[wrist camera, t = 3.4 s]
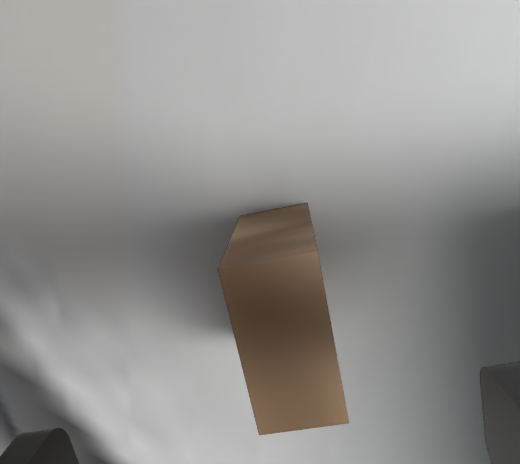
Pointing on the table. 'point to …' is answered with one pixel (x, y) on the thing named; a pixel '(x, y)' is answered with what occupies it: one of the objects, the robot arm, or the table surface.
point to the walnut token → (282, 321)
